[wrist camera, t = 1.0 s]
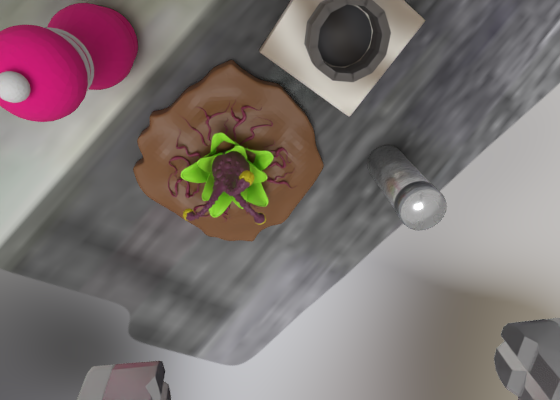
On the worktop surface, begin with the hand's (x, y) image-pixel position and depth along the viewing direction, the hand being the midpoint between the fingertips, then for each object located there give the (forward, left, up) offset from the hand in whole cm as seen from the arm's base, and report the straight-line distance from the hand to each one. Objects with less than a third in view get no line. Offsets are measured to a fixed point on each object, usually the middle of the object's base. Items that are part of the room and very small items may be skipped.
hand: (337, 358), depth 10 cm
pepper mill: (+7, -14, -38) cm, 41 cm away
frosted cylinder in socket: (+1, +19, -38) cm, 42 cm away
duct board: (-7, +5, -38) cm, 39 cm away
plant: (+11, +3, -38) cm, 40 cm away
